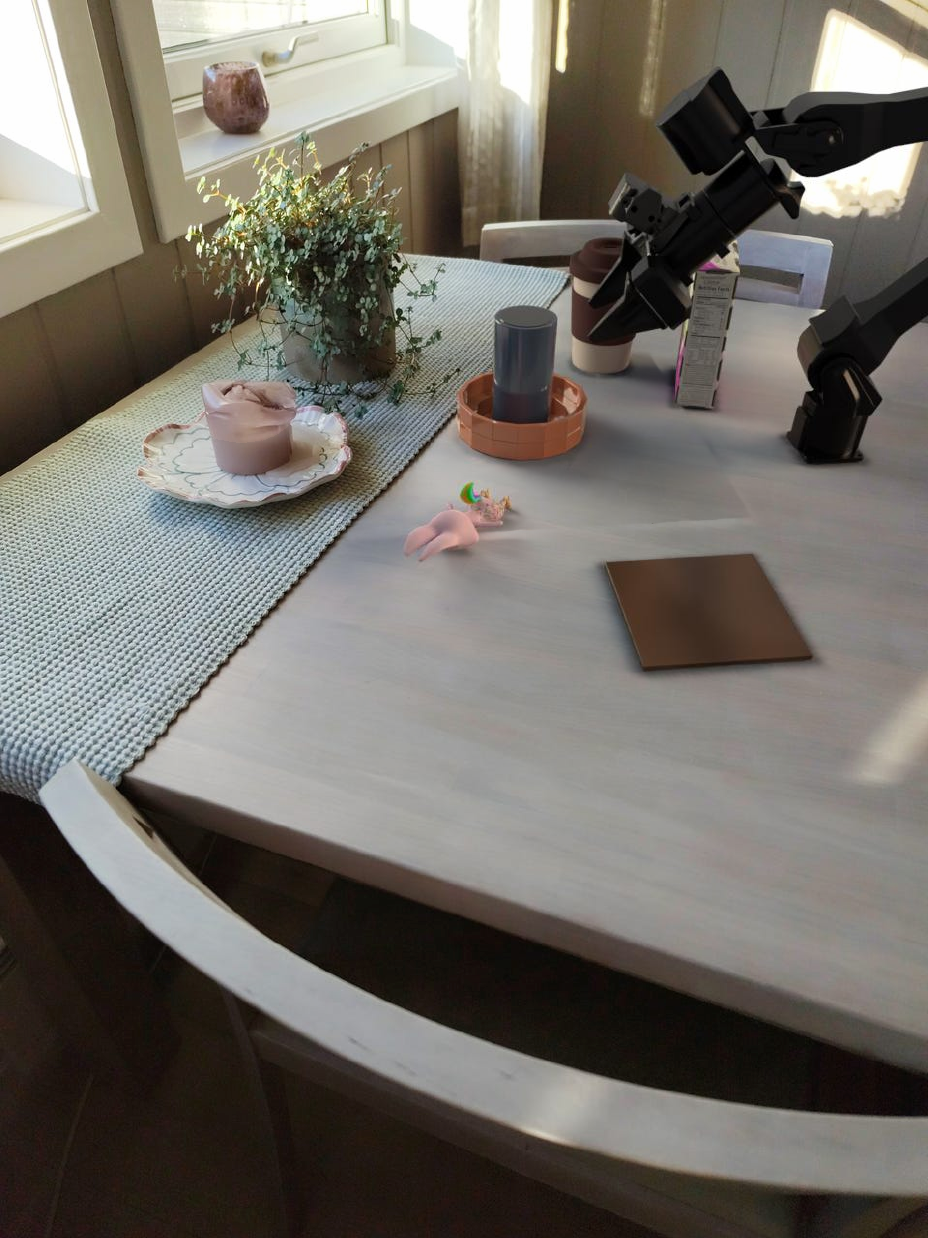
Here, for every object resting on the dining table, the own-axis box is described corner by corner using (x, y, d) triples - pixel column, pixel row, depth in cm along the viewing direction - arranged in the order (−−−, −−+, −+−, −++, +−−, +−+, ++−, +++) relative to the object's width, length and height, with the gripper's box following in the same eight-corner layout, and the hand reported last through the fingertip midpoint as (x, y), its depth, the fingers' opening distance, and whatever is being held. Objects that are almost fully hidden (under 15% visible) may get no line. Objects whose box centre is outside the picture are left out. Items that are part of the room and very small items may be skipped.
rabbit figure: (470, 510, 89) (383, 563, 78) (475, 455, 86) (385, 503, 75) (522, 528, 87) (441, 586, 75) (530, 473, 83) (446, 525, 72)
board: (751, 557, 81) (752, 553, 80) (811, 659, 70) (813, 655, 70) (604, 566, 80) (604, 561, 79) (642, 671, 69) (643, 666, 69)
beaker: (544, 413, 101) (551, 303, 93) (554, 441, 96) (562, 327, 88) (488, 415, 101) (490, 305, 93) (495, 443, 96) (498, 329, 88)
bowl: (569, 401, 105) (572, 366, 102) (594, 460, 94) (598, 423, 91) (453, 406, 104) (452, 370, 101) (464, 466, 93) (464, 429, 90)
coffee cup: (619, 388, 108) (634, 264, 98) (548, 369, 112) (556, 249, 102) (650, 359, 114) (667, 241, 104) (582, 343, 118) (593, 227, 108)
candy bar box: (673, 368, 112) (695, 235, 102) (712, 371, 111) (738, 238, 101) (671, 407, 104) (695, 267, 93) (714, 411, 103) (742, 270, 92)
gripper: (661, 122, 86) (543, 235, 94) (675, 170, 72) (534, 297, 80) (726, 210, 90) (608, 310, 98) (751, 271, 76) (610, 382, 84)
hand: (590, 322), depth 90 cm, fingers open, 9 cm apart
